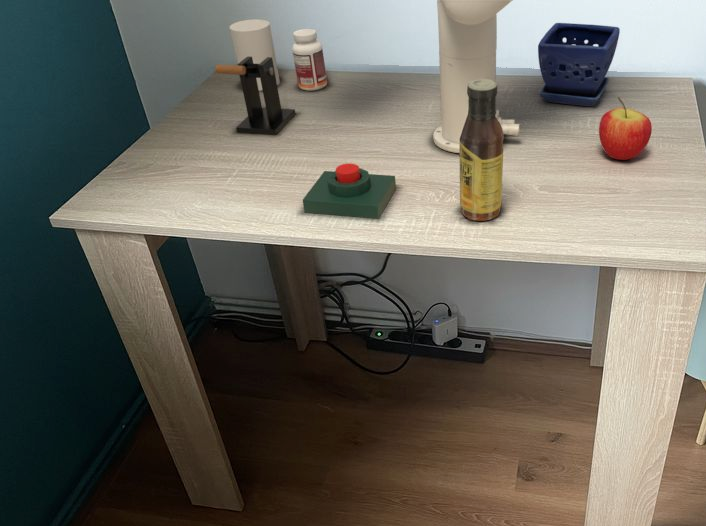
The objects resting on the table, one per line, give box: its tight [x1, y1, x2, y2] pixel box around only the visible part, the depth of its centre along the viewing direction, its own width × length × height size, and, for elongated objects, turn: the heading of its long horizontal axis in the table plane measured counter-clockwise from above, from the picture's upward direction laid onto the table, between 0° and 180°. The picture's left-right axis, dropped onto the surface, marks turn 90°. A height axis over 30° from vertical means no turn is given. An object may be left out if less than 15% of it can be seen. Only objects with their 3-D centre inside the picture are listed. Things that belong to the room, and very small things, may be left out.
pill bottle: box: [291, 28, 328, 92], centre depth 151 cm, size 6×6×11 cm
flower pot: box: [537, 22, 621, 107], centre depth 141 cm, size 13×13×12 cm
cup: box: [229, 19, 281, 92], centre depth 153 cm, size 8×8×12 cm
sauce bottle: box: [459, 79, 504, 222], centre depth 104 cm, size 6×6×20 cm
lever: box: [214, 63, 260, 78], centre depth 129 cm, size 12×5×2 cm, turn 167°
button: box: [335, 162, 360, 183], centre depth 112 cm, size 4×4×2 cm
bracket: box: [235, 56, 297, 136], centre depth 136 cm, size 10×8×12 cm
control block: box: [302, 167, 397, 219], centre depth 114 cm, size 12×10×4 cm
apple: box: [598, 96, 653, 161], centre depth 120 cm, size 8×8×10 cm
